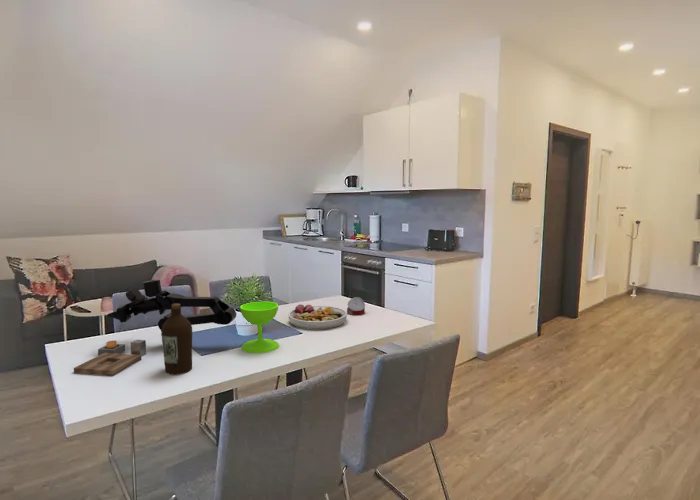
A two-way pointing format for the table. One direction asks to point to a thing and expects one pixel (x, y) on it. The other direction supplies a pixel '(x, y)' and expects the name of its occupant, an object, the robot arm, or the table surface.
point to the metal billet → (138, 347)
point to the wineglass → (259, 325)
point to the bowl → (317, 317)
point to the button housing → (118, 349)
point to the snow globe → (356, 307)
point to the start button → (111, 344)
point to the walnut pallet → (107, 364)
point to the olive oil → (177, 342)
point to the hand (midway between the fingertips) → (114, 311)
